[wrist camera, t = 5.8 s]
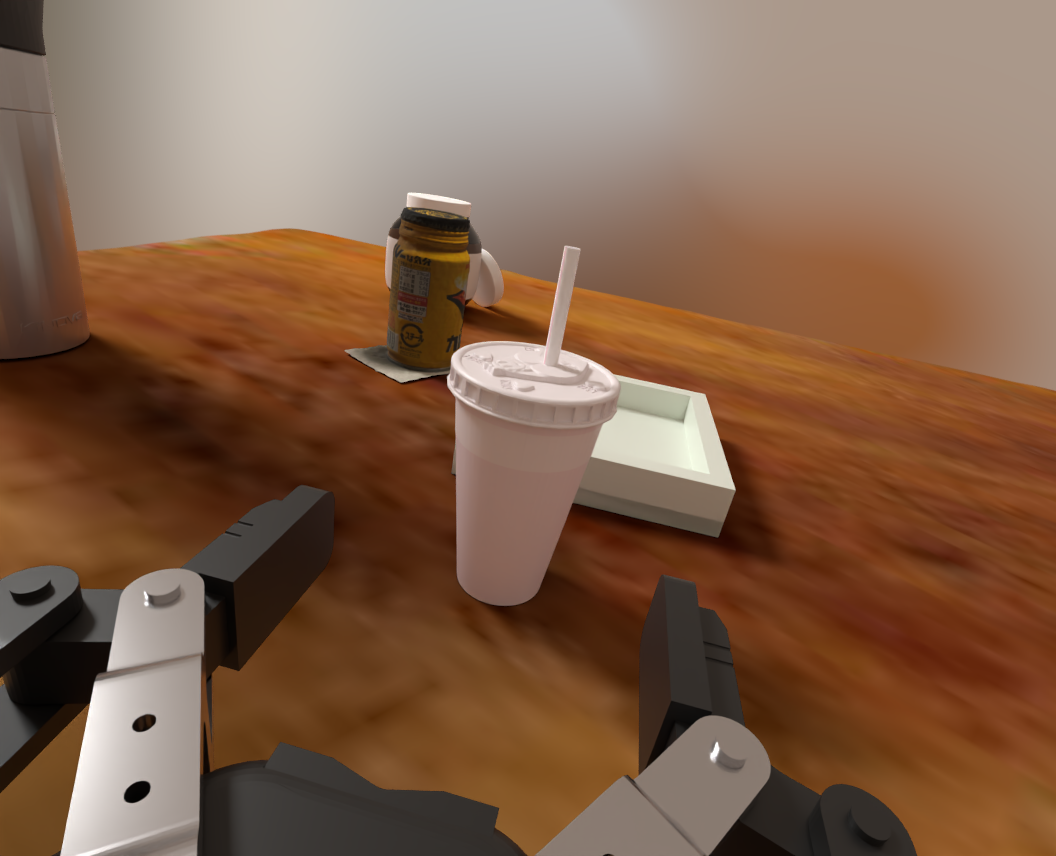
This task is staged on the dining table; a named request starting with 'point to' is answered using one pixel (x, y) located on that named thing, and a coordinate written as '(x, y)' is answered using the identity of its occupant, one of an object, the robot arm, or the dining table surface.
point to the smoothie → (522, 450)
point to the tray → (659, 460)
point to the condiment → (424, 296)
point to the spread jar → (483, 268)
